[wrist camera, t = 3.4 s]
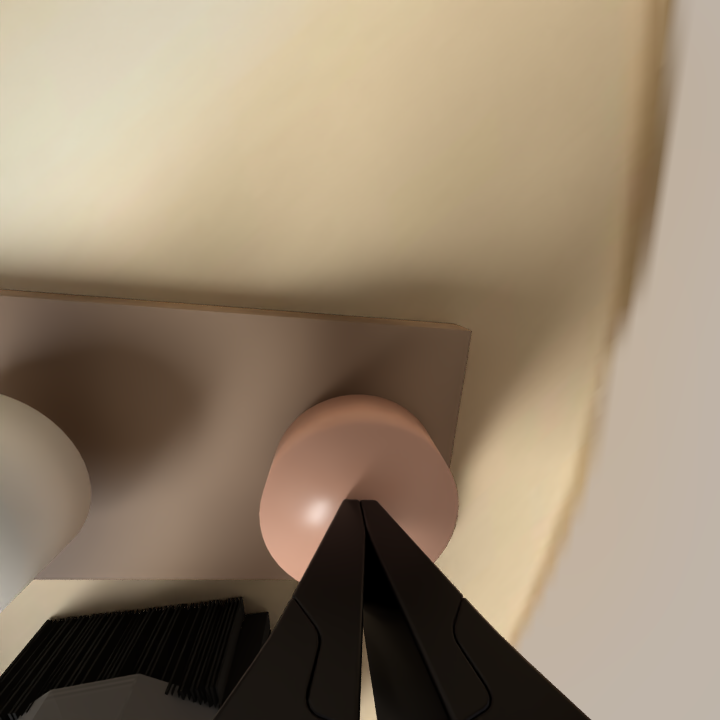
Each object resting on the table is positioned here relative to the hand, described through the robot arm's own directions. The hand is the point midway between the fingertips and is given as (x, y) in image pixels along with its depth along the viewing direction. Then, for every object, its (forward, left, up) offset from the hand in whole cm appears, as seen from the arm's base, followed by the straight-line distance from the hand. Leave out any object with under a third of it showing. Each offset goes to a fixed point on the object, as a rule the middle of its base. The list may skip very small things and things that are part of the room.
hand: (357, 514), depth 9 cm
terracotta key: (0, 0, -2) cm, 2 cm away
